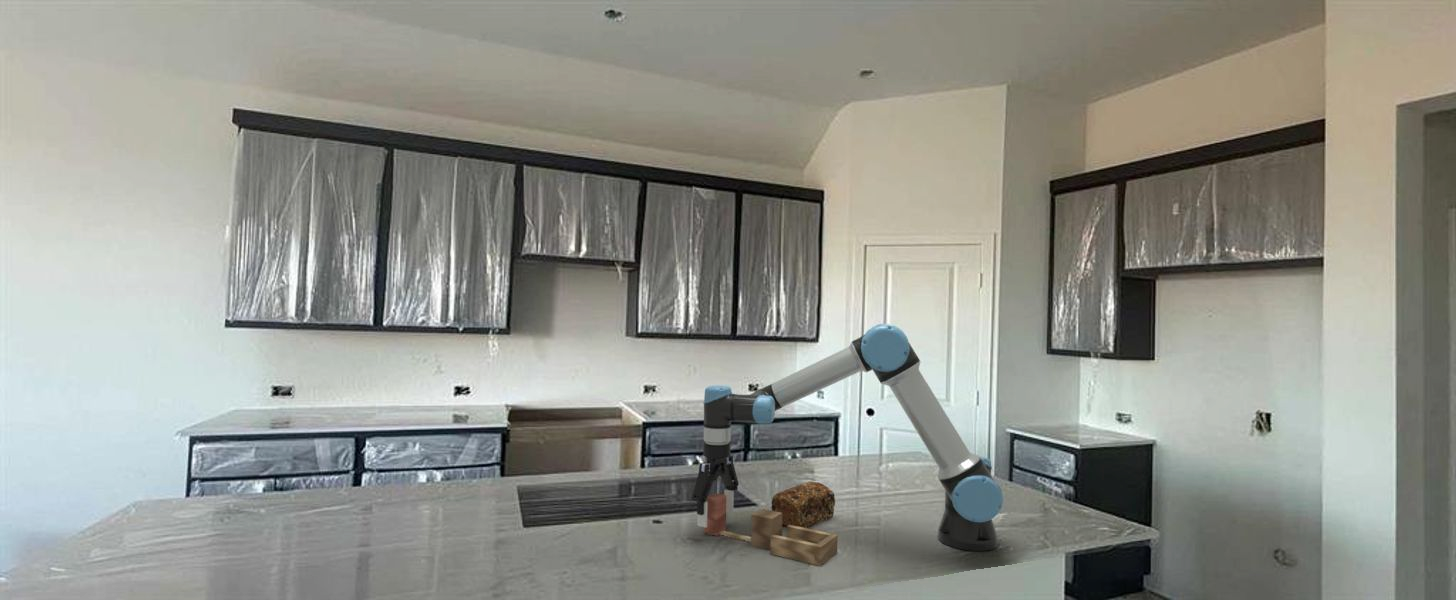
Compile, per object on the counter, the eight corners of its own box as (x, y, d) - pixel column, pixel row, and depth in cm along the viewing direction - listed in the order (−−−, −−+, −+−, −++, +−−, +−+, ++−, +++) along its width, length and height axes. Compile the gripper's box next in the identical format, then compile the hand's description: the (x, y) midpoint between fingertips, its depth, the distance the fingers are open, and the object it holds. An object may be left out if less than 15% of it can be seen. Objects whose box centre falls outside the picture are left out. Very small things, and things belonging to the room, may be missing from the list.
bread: (808, 510, 198) (808, 478, 198) (836, 518, 191) (837, 484, 191) (769, 523, 185) (769, 488, 185) (798, 532, 177) (798, 496, 178)
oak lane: (837, 552, 162) (837, 534, 162) (820, 565, 153) (820, 547, 153) (789, 541, 169) (789, 524, 170) (770, 553, 160) (770, 536, 160)
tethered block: (781, 543, 168) (782, 505, 168) (771, 550, 163) (771, 510, 163) (714, 528, 179) (715, 492, 179) (702, 534, 174) (703, 497, 174)
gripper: (728, 434, 189) (727, 506, 188) (679, 448, 167) (678, 529, 167) (750, 436, 185) (749, 510, 184) (703, 451, 163) (702, 534, 163)
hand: (715, 519), depth 175 cm, fingers open, 13 cm apart
